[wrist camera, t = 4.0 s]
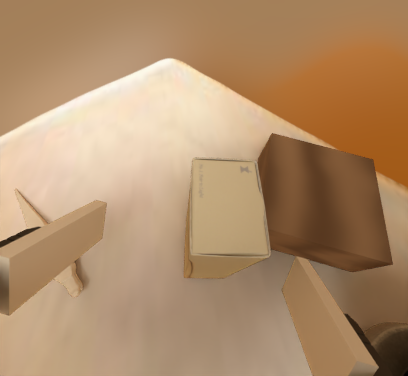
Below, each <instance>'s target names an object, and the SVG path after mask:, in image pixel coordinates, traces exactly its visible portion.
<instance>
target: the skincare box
mask: <svg viewBox="0 0 408 376" xmlns="http://www.w3.org/2000/svg"><path fill="white" fill-rule="evenodd" d="M270 255H271V249H270V242H269V233H268V227H267V219H266V212H265V205H264V199H263V194H262V188H261V182H260V176H259V170H258V164H257V161H249V160H237V159H219V158H197V157H196V158H193V160H192V170H191V184H190V194H189V203H188V211H187V219H186V235H185V256H184V277H185V278H225V277H227V276H229V275H232V274H234V273H236V272H238V271H240V270H242V269H244V268H247V267H249V266H251V265H253V264H255V263H257V262H259V261H262V260H264V259H266V258H268V257H270Z"/></svg>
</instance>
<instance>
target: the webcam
mask: <svg viewBox="0 0 408 376" xmlns="http://www.w3.org/2000/svg"><path fill="white" fill-rule="evenodd" d="M364 334H365V337H367V338H368V340H369V341H370V343H371V345H372V346H373V347H374V348H375V350H376V351H377V353H378V354H379V356H380V357H381V359H382V360H383V361H384V363H385V364H386V366H387V367H388V369H389V370H390V371H391V373H392V374H393V376H408V324H402V323H383V324H378V325H376V326H373V327H372V328H370V329H368V330H367V331H365V332H364Z"/></svg>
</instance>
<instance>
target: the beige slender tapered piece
mask: <svg viewBox="0 0 408 376" xmlns="http://www.w3.org/2000/svg"><path fill="white" fill-rule="evenodd" d="M15 194H16V196H17V199H18V202H19V205H20V208H21V211H22V213H23V216H24V219H25V222H26V225H27V228H28V229H30V228H34V227H38V226H39V227H43V226H45V225H47V223H46V222H45V220H44V219H43V218H42V217H41V216H40V215H39V214H38V213H37V212H36V211H35V210H34V208H33V207H32V206H31V205H30V204H29V203H28V202H27V201H26V200H25V199H24V198H23V196H22V195H21V194H20V193H19V192H18V190H17V189H15ZM53 280H57V281H58V282H59V283H61V284H63V285H64V286H65V287H66V289H67V290H68V293H69V294H70V295H71V296H72V297H77V296H78V295H79V294H80V293H81V289H82V290H83V284H82V282H81V281H80V279H79V278H78V276H77V274H76V264H75V262H73V263H72V264H71V265H70V266H68V267H67V268H66V269H65V270H64V271H62V272H61V273H60V274H59V275H57V276H56V277H55V278H54V279H53Z"/></svg>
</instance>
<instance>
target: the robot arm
mask: <svg viewBox="0 0 408 376" xmlns="http://www.w3.org/2000/svg"><path fill="white" fill-rule="evenodd" d="M106 206H107V203H105V202H101V201H98V200H95V201H93V202H91V203H89V204H87V205H85V206H83V207H81V208H79V209H77V210H75V211H73V212H71V213H69V214H67V215H65V216H63V217H61V218H59V219H57V220H55V221H53V222H51V223H49V224H47V225H45V226H43V227H39V226H38V227H34V228H30V229H26V230H24V231H22V232H20V233H18V234H16V235H14V236H11V237H9V238H7V240H3V241H1V242H0V313H2V314H6V315H11V314H12V313H13V312H14V311H15V310H17V309H18V308H19V307H20V306H21V305H23V304H24V303H25V302H26V301H27V300H29V299H30V298H31V297H32V296H33V295H35V294H36V293H37V292H38V291H39V290H41V289H42V288H43V287H44V286H45V285H47V284H48V283H49V282H50V281H51V280H53V279H54V278H55V277H56V276H57V275H59V274H60V273H61V272H62V271H64V270H65V269H66V268H67V267H68V266H70V265H71V264H72V263H73V262H74V261H76V260H77V259H78V258H79V257H80V256H82V255H83V254H84V253H85V252H86V251H88V250H89V249H90V248H91V247H92V246H94V245H95V244H96V243H97V242H98V241H100V240H101V239H102V235H103V228H104V221H105V213H106ZM282 292H283V295H284V297H285V300H286V303H287V306H288V308H289V311H290V314H291V317H292V319H293V322H294V325H295V328H296V331H297V333H298V336H299V339H300V342H301V344H302V347H303V350H304V353H305V356H306V358H307V361H308V364H309V367H310V369H311V372H312V375H313V376H393V374H392V373H391V371H390V370H389V369H388V367H387V366H386V364H385V363H384V361H383V360H382V359H381V357H380V356H379V354H378V353H377V351H376V350H375V348H374V347H373V346H372V345H371V343H370V341H369V340H368V338H367V337H365V334H364V333H363V331H362V330H361V328H360V327H359V325H358V324H357V323H356V322H355V321H354V320H353V319H352V318H351V317H350V316H349V315H348V314H344V313H343V312H342V311H341V309H340V308H339V306H338V305H337V303H336V302H335V300H334V299H333V297H332V296H331V294H330V293H329V291H328V289H327V288H326V286H325V285H324V283H323V282H322V280H321V279H320V277H319V276H318V274H317V273H316V271H315V270H314V268H313V267H312V265H311V264H310V262H309V261H308V259H305V258H301V257H298V256H296V258H295V260H294V262H293V265H292V267H291V270H290V272H289V274H288V277H287V279H286V281H285V284H284V286H283V288H282Z"/></svg>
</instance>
